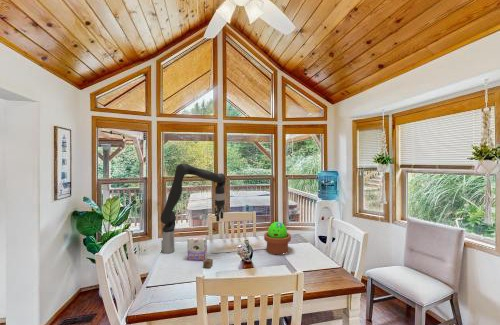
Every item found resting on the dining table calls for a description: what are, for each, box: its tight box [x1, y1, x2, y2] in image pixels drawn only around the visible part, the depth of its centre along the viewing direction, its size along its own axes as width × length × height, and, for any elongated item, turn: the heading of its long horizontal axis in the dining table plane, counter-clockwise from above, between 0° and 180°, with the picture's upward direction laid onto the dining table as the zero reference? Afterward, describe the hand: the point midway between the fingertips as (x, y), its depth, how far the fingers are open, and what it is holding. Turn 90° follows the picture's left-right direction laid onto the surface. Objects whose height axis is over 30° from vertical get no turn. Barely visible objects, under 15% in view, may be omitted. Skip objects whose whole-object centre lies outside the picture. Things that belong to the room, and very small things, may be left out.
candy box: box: [187, 236, 208, 262], centre depth 188 cm, size 14×6×16 cm, turn 84°
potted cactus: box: [263, 221, 292, 255], centre depth 206 cm, size 22×22×25 cm
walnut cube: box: [202, 257, 214, 270], centre depth 176 cm, size 5×5×5 cm
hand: (219, 219), depth 192 cm, fingers open, 8 cm apart
